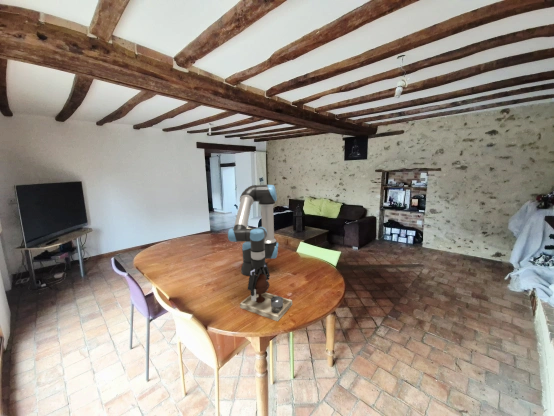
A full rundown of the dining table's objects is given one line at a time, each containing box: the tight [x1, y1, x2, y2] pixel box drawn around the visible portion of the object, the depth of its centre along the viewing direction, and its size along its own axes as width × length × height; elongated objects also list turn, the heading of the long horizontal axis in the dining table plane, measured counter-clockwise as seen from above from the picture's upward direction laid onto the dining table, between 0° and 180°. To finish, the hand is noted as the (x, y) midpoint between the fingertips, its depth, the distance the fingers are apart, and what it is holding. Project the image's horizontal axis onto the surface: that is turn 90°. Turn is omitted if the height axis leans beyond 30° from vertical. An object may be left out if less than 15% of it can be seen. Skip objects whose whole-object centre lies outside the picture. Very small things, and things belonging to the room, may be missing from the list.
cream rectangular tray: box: [239, 291, 293, 322], centre depth 124 cm, size 24×16×4 cm, turn 60°
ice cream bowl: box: [255, 274, 270, 303], centre depth 124 cm, size 11×11×15 cm
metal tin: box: [271, 295, 284, 313], centre depth 120 cm, size 6×6×6 cm
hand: (259, 295), depth 125 cm, fingers closed on ice cream bowl, 11 cm apart
